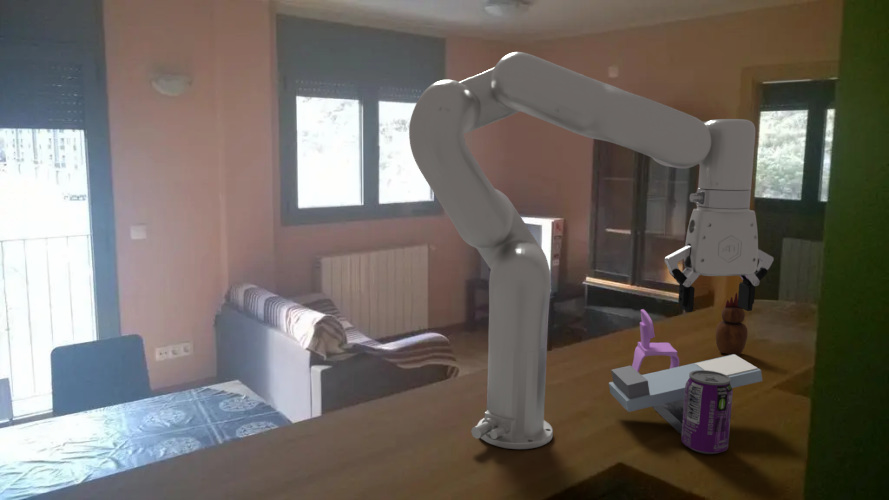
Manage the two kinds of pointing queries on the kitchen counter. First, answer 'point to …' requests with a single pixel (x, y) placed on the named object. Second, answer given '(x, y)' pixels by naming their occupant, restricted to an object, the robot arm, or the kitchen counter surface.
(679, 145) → the robot arm
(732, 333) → the wooden figurine
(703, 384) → the beverage can
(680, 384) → the plank
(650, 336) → the toy chair
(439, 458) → the kitchen counter surface
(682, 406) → the seesaw stand
